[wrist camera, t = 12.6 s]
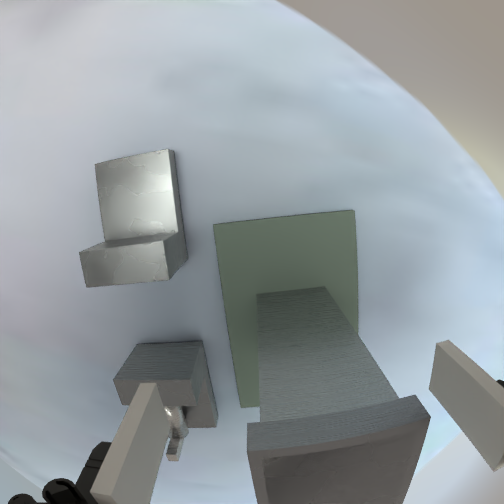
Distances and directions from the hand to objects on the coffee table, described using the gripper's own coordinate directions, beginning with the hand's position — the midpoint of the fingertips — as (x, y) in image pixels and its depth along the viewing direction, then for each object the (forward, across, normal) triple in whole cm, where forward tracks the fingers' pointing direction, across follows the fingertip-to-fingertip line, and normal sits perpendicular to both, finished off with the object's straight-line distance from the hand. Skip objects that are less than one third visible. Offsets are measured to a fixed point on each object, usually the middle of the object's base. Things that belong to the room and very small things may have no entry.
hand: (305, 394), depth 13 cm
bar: (+8, +1, 0) cm, 8 cm away
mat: (+9, +1, 0) cm, 9 cm away
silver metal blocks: (+9, -8, +2) cm, 12 cm away
